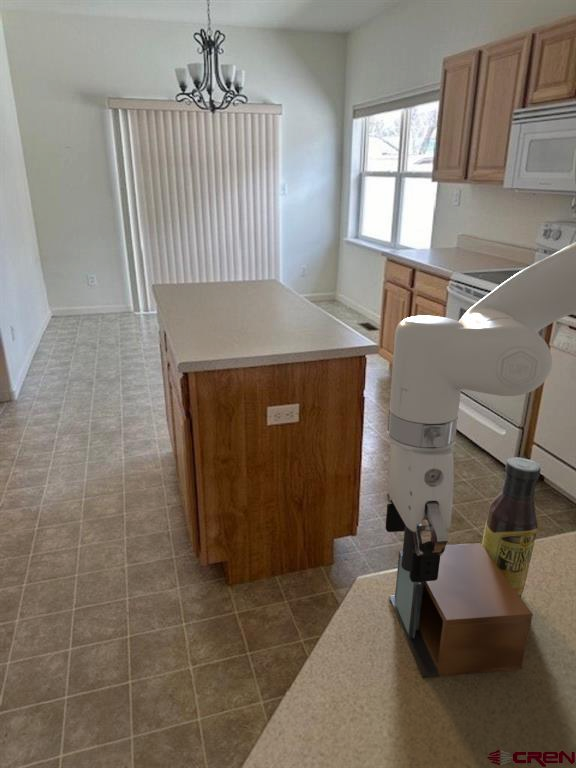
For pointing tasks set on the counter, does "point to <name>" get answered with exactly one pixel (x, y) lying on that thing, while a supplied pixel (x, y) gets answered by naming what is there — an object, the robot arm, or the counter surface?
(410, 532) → the glass door
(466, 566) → the cabinet
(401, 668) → the counter surface
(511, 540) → the sauce bottle
